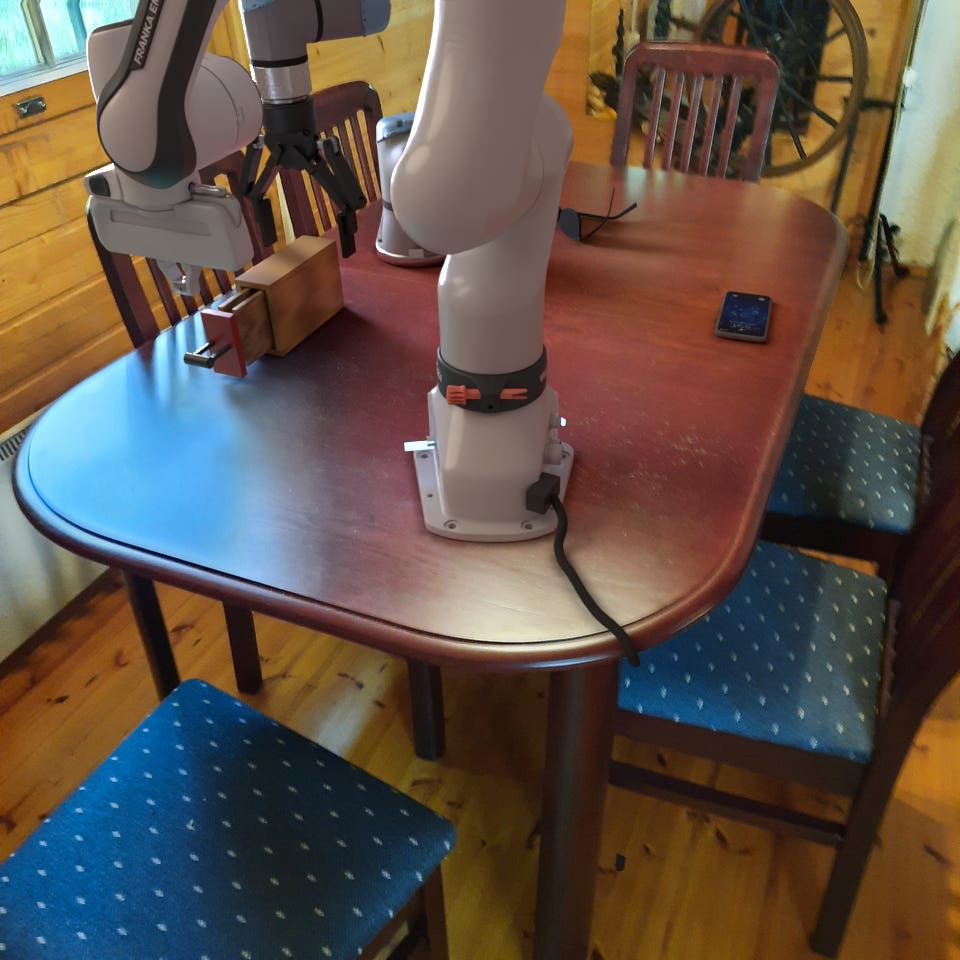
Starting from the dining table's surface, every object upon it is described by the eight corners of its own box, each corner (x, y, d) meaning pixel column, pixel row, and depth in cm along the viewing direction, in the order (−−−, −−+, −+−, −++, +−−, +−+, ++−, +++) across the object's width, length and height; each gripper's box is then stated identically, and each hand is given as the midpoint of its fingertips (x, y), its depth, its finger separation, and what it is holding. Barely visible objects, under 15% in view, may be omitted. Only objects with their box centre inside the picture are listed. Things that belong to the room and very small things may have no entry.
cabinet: (282, 356, 122) (269, 285, 115) (248, 349, 124) (233, 279, 117) (344, 306, 135) (336, 239, 128) (312, 300, 137) (302, 234, 130)
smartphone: (773, 295, 132) (766, 339, 121) (772, 301, 133) (765, 345, 121) (725, 289, 134) (713, 331, 123) (724, 295, 135) (712, 337, 123)
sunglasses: (646, 234, 156) (649, 207, 153) (572, 244, 153) (574, 217, 150) (609, 205, 169) (611, 179, 166) (540, 214, 166) (541, 188, 163)
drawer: (217, 398, 111) (202, 336, 106) (188, 391, 113) (172, 330, 107) (307, 326, 127) (298, 269, 122) (281, 321, 129) (271, 265, 123)
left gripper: (380, 95, 113) (395, 249, 126) (224, 85, 121) (253, 231, 134) (352, 110, 107) (371, 269, 120) (191, 98, 116) (225, 248, 128)
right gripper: (252, 180, 96) (273, 295, 104) (109, 162, 102) (139, 272, 110) (218, 197, 91) (242, 316, 99) (70, 178, 97) (104, 291, 106)
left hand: (309, 249), depth 127 cm, fingers open, 13 cm apart
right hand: (187, 293), depth 105 cm, fingers closed
